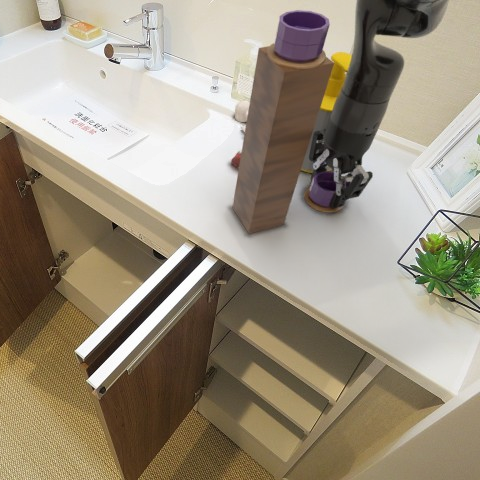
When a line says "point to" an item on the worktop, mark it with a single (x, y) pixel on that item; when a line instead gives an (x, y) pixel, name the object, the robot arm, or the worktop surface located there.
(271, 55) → the coaster top
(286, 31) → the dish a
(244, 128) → the rivet
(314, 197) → the purple cup
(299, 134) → the walnut stand
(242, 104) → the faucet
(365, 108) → the robot arm
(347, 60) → the soap bottle
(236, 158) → the dental model
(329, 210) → the coaster back
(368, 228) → the worktop surface
